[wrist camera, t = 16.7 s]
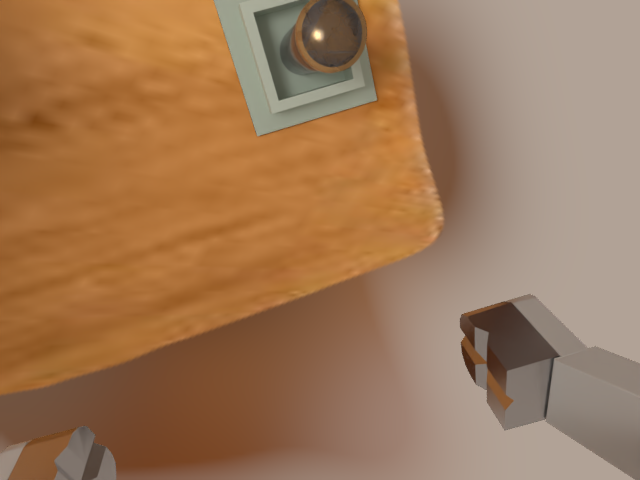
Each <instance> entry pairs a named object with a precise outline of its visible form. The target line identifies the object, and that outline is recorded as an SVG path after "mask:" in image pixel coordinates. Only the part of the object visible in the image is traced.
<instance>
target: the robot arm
mask: <svg viewBox="0 0 640 480" xmlns="http://www.w3.org/2000/svg"><path fill="white" fill-rule="evenodd" d="M460 328H461V330H462V331H463V333H464V334H465V337H464V338H463V340H462V342H461V348H462V355H463V358H464V362H465V365H466V367H467V369H468V371H469V374H470V375H471V377H472V379H473V380H474V382H475V384H476V385H478V386H480V387H482V388H484V389H485V390H487V403H488V405H489V406H490V408H491V410H492V411H493V413H494V414H495V416H496V418H497V419H498V420H499V422H500V424H501V425H502V427H503V428H504V430H508V429H512V428H515V427H519V426H523V425H526V424H530V423H534V422H538V421H541V420H545V419H546V422H547V423H549V424H550V425H552V426H553V427H555V428H556V429H558V430H559V431H561V432H562V433H564V434H566V435H567V436H569V437H570V438H572V439H573V440H575V441H576V442H578V443H579V444H581V445H583V446H584V447H586V448H587V449H589V450H590V451H592V452H594V453H595V454H596V455H598V456H600V457H601V458H603V459H604V460H606V461H607V462H609V463H610V464H612V465H614V466H615V467H617V468H618V469H620V470H621V471H623V472H624V473H626V474H627V475H629V476H630V477H632V478H633V479H635V480H640V363H638V362H635V361H632V360H630V359H627V358H624V357H622V356H619V355H617V354H614V353H611V352H609V351H606V350H604V349H601V348H599V347H596V346H595V347H591V348H587V347H586V346H585V345H584V344H583V343H582V342H581V341H580V340H579V339H578V338H577V337H576V336H575V335H574V334H573V333H572V332H571V331H570V330H569V329H568V328H567V327H566V326H565V325H564V324H563V323H562V322H561V321H560V320H559V319H558V318H557V317H556V316H555V315H553V313H552V312H551V311H550V310H548V309H547V308H546V307H545V306H544V305H543V304H542V303H541V302H540V301H539V300H538V299H537V298H536V297H535V296H533V295H531V294H528V295H524V296H521V297H518V298H515V299H511V300H508V301H506V302H501V303H497V304H494V305H491V306H487V307H484V308H481V309H477V310H474V311H471V312H468V313H464V314H462V315H461V318H460ZM94 439H95V434H94V433H93V432H92V431H91V430H90V429H89V428H88V427H87V426H83V427H77V428H74V429H70V430H66V431H63V432H59V433H55V434H51V435H47V436H44V437H40V438H36V439H32V440H30V441H26V442H22V443H19V444H15V445H12V446H8V447H7V448H6V449H5V450H3V451H2V452H1V453H0V480H116V463H115V460H114V458H113V455H112V453H111V452H110V451H109V450H108V448H107V447H105V446H102V445H99V444H95V443H94Z"/></svg>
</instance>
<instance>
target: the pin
mask: <svg viewBox="0 0 640 480" xmlns="http://www.w3.org/2000/svg"><path fill="white" fill-rule="evenodd" d="M366 39H367V27H366V22H365V18H364V16H363V13H362V11H361V10H360V8H359V7H358V5H357V4H356V3H355V2H354V1H353V0H310V1H309V2H308V3H307V4H306V5H305V6H304V8H303V9H302V10H301V12H300V14H299V16H298V18H297V21H296V24H295V25H294V26H293V27H292V28H291V29H290V30H289V31H288V32H287V33H286V34H285V35H284V37H283V38H282V41H281V43H280V51H279V52H280V58H281V61H282V63H283V64H284V66H285V67H286V68H287V69H288V70H289V71H290V72H292V73H294V74H297V75H306V74H310V73H314V72H319V71H320V72H324V73H335V72H340V71H343V70H346V69H347V68H349V67H351V66H352V65H353V64H354V63H355V62H356V61H357V60H358V59H359V58H360V56H361V54H362V52H363V50H364V47H365V44H366Z"/></svg>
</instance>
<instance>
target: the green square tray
mask: <svg viewBox="0 0 640 480" xmlns="http://www.w3.org/2000/svg"><path fill="white" fill-rule="evenodd" d="M309 1H310V0H214V3H215V6H216V9H217V12H218V15H219V19H220V22H221V25H222V28H223V31H224V34H225V37H226V40H227V43H228V47H229V50H230V53H231V56H232V59H233V62H234V65H235V68H236V72H237V75H238V78H239V81H240V84H241V87H242V90H243V93H244V97H245V100H246V103H247V106H248V109H249V112H250V115H251V118H252V121H253V125H254V128H255V131H256V134H257V136H260V135H263V134H267V133H270V132H273V131H277V130H280V129H283V128H286V127H290V126H293V125H296V124H300V123H303V122H306V121H310V120H313V119H316V118H320V117H323V116H326V115H329V114H333V113H336V112H339V111H343V110H346V109H349V108H353V107H356V106H359V105H362V104H366V103H369V102H372V101H376V100H377V97H376V92H375V87H374V82H373V77H372V72H371V67H370V62H369V57H368V52H367V47H366V44H365V47H364V50H363V52H362V54H361V56H360V58H359V59H358V60H357V61H356V62H355V63H354V64H353V65H352V66H351V67H349V68H347V69H346V70H343V71H340V72H335V73H324V72H320V71H319V72H314V73H310V74H306V75H297V74H294V73H292V72H290V71H289V70H288V69H287V68H286V67H285V66H284V64H283V63H282V61H281V58H280V52H279V51H280V43H281V41H282V38H283V37H284V35H285V34H286V33H287V32H288V31H289V30H290V29H291V28H292V27H293V26H294V25H295V24H296V21H297V18H298V16H299V14H300V12H301V10H302V9H303V8H304V6H305V5H306V4H307V3H308V2H309ZM353 1H354V2H355V3H356V4H357V5H358V1H357V0H353ZM358 7H359V6H358Z"/></svg>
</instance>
